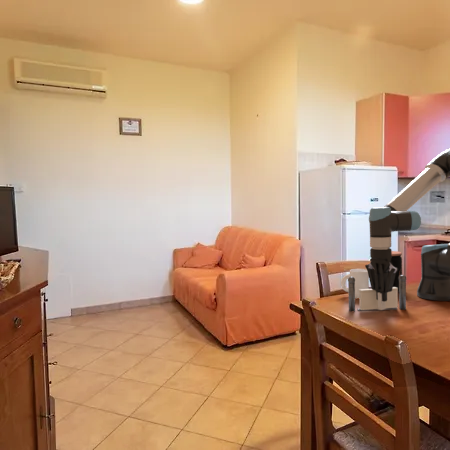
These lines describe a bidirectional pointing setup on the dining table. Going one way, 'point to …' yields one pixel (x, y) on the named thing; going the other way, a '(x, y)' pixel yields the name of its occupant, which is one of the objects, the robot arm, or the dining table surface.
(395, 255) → the coffee jar
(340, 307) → the dining table surface
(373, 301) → the gate
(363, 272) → the mug
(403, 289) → the posts and sill
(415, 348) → the dining table surface
